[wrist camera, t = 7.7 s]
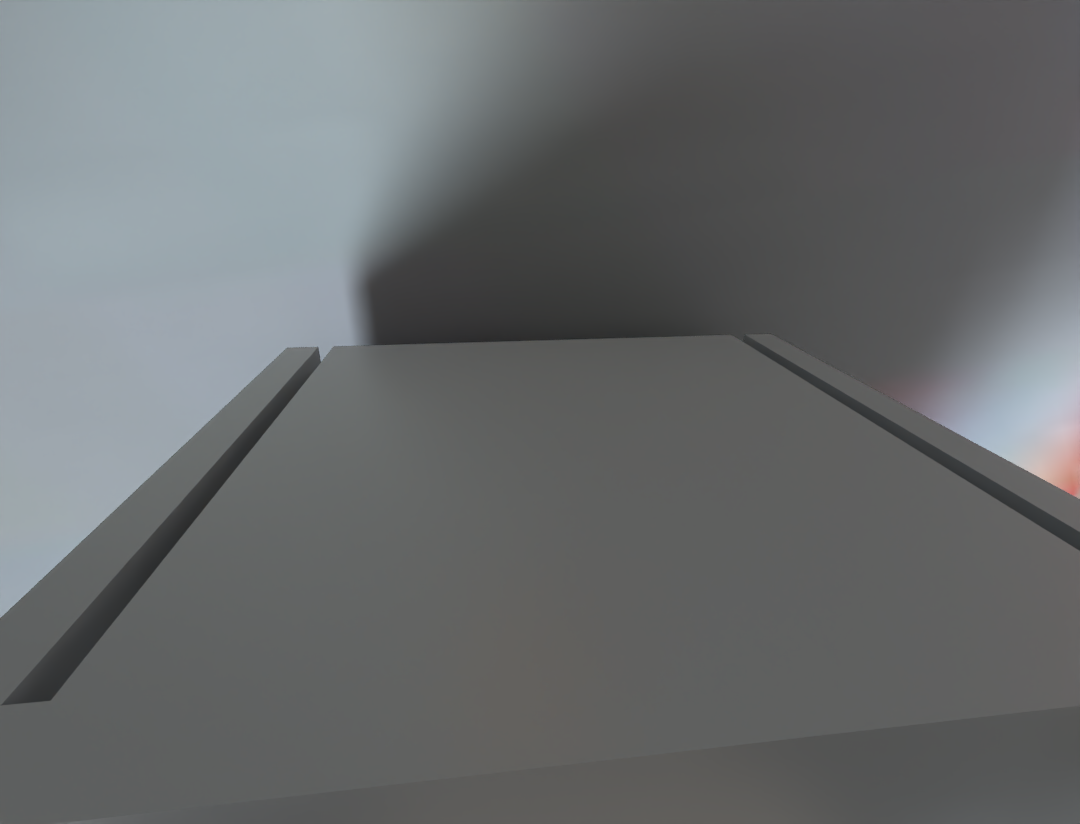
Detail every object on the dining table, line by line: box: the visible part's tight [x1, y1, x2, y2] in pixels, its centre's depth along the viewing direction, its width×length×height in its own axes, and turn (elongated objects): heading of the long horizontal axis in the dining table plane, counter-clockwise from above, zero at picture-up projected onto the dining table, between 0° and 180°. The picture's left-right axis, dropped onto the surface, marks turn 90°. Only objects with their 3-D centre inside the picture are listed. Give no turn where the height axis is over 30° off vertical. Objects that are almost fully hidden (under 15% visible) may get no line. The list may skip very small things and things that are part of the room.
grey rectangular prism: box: [0, 334, 1080, 824], centre depth 9 cm, size 10×10×9 cm
